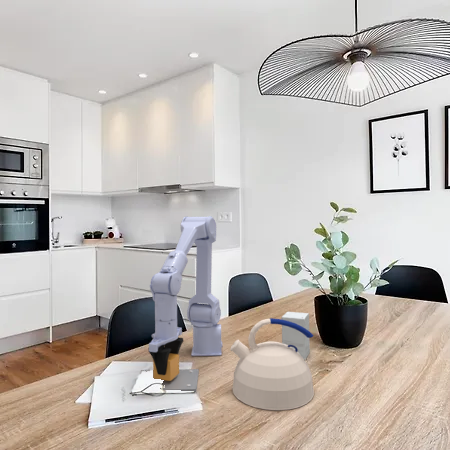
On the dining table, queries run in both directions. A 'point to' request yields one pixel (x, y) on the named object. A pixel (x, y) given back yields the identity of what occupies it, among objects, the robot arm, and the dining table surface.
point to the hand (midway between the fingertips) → (166, 369)
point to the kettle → (272, 372)
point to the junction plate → (183, 380)
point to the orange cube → (168, 368)
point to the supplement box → (296, 332)
